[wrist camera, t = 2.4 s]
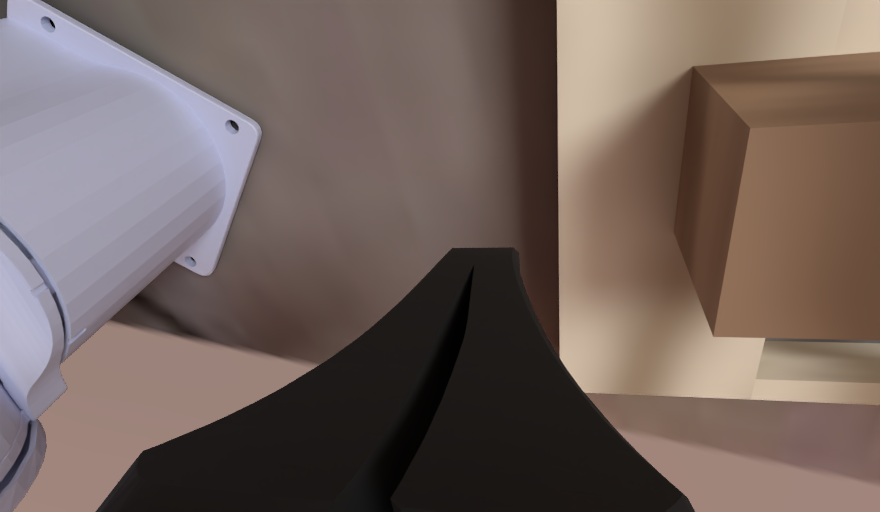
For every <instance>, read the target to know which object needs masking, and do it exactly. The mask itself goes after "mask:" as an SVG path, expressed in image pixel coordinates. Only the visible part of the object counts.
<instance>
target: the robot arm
mask: <svg viewBox="0 0 880 512" xmlns="http://www.w3.org/2000/svg"><path fill="white" fill-rule="evenodd" d="M49 18H50V19H51V20H52V21H53V23H54V24H55V28H53V27H52V25H51V23H50V19H49ZM231 120H233V121H235V122H236V123H237V125H238V127H239V130H235V129H234V128H233V127H232V125H231ZM261 136H262V132H261V128H260V126H259V125H258V123H257V122H255V121H254V120H253V119H251V118H249V117H247V116H246V115H244V114H242V113H240V112H239V111H237V110H235V109H233V108H231V107H230V106H228V105H226V104H224V103H223V102H221V101H219V100H217V99H215V98H214V97H212V96H210V95H208V94H207V93H205V92H203V91H201V90H199V89H198V88H196V87H194V86H192V85H190V84H189V83H187V82H185V81H183V80H182V79H180V78H178V77H176V76H174V75H173V74H171V73H169V72H167V71H166V70H164V69H162V68H160V67H158V66H157V65H155V64H153V63H151V62H150V61H148V60H146V59H144V58H142V57H141V56H139V55H137V54H135V53H134V52H132V51H130V50H128V49H126V48H125V47H123V46H121V45H119V44H117V43H116V42H114V41H112V40H110V39H109V38H107V37H105V36H103V35H101V34H100V33H98V32H96V31H94V30H93V29H91V28H89V27H87V26H85V25H84V24H82V23H80V22H78V21H77V20H75V19H73V18H71V17H69V16H68V15H66V14H64V13H62V12H61V11H59V10H57V9H55V8H53V7H52V6H50V5H48V4H46V3H45V2H43V1H41V0H8V3H7V18H3V19H0V512H13V511H14V509H15V508H16V507H17V506H18V504H19V503H20V502H21V500H22V499H23V498H24V497H25V495H26V493H27V492H28V490H29V488H30V487H31V485H32V483H33V482H34V480H35V479H36V477H37V475H38V473H39V470H40V468H41V466H42V463H43V461H44V457H45V452H46V435H45V431H44V429H43V427H42V425H41V423H40V422H39V420H38V419H37V418H38V417H39V416H40V415H41V414H42V413H43V412H44V411H46V409H48V408H49V407H50V406H51V405H52V404H53V402H55V401H56V400H57V399H58V398H59V397H60V396H61V395H62V394H63V393H64V392H65V391H66V390H67V385H66V383H65V382H64V380H63V378H62V375H61V372H60V364H61V363H62V362H63V361H64V360H66V358H68V357H69V356H70V355H71V354H72V353H73V352H74V351H76V350H77V349H78V348H79V347H80V346H81V345H82V344H83V343H84V342H85V341H87V340H88V339H89V338H90V337H91V336H92V335H93V334H94V333H95V332H96V331H97V330H99V329H100V328H101V327H102V326H103V325H104V324H105V323H106V322H107V321H109V320H110V319H111V318H112V317H113V316H114V315H115V314H116V313H117V312H118V311H120V310H121V309H122V308H123V307H124V306H125V305H126V304H127V303H128V302H129V301H131V300H132V299H133V298H134V297H135V296H136V295H137V294H138V293H139V292H140V291H142V290H143V289H144V288H145V287H146V286H147V285H148V284H149V283H150V282H151V281H153V280H154V279H155V278H156V277H157V276H158V275H159V274H160V273H161V272H162V271H164V270H165V269H166V268H167V267H168V266H169V265H170V264H171V263H172V262H173V261H174V262H176V263H178V264H180V265H182V266H184V267H186V268H188V269H189V270H191V271H193V272H195V273H197V274H199V275H202V276H208V275H210V274H211V273H212V272H213V271H214V270H215V269H216V266H217V263H218V260H219V257H220V255H221V252H222V249H223V246H224V243H225V240H226V237H227V234H228V232H229V229H230V226H231V223H232V220H233V217H234V214H235V212H236V209H237V206H238V203H239V200H240V197H241V194H242V191H243V189H244V186H245V183H246V180H247V177H248V174H249V171H250V169H251V166H252V163H253V160H254V157H255V154H256V151H257V148H258V146H259V143H260V140H261ZM190 257H192V258H193V259H194V260H195V261H193V260H192V259H191V258H190ZM96 512H695V511H694V509H693V507H692V505H691V503H690V501H689V500H688V498H687V497H686V496H685V495H684V494H683V493H682V492H681V491H679V490H678V489H677V488H676V487H675V486H674V485H673V484H671V483H670V482H669V481H668V480H667V479H666V478H665V477H663V476H662V475H661V474H660V473H659V472H658V471H657V470H656V469H655V468H654V467H653V466H652V465H651V464H649V463H648V462H647V461H646V460H645V459H644V458H643V457H642V456H641V455H640V454H639V453H638V452H637V451H636V450H635V449H634V448H633V447H632V446H631V445H630V444H629V443H628V442H627V441H626V440H625V439H624V438H623V437H622V435H621V434H620V433H619V432H618V431H617V430H616V429H615V428H614V427H613V426H612V425H611V424H610V422H609V421H608V420H607V419H606V418H605V417H604V415H603V414H602V413H601V412H600V411H599V409H598V408H597V407H596V406H595V405H594V404H593V402H592V401H591V400H590V399H589V398H588V397H587V395H586V394H585V393H584V392H583V390H582V389H581V388H580V386H579V385H578V384H577V382H576V381H575V380H574V378H573V377H572V376H571V374H570V373H569V371H568V370H567V368H566V367H565V365H564V364H563V362H562V361H561V359H560V358H559V356H558V355H557V353H556V352H555V350H554V348H553V347H552V345H551V343H550V341H549V340H548V338H547V336H546V334H545V332H544V330H543V329H542V327H541V325H540V323H539V321H538V319H537V317H536V315H535V312H534V310H533V308H532V305H531V303H530V301H529V298H528V296H527V293H526V291H525V288H524V285H523V281H522V278H521V274H520V263H519V252H517V251H516V250H515V249H514V248H452V249H451V250H450V251H449V252H448V253H447V254H446V255H445V256H444V257H443V258H442V259H441V260H440V261H439V262H438V263H437V264H436V265H435V267H434V268H433V269H432V270H431V271H430V272H429V273H428V274H427V275H426V276H425V277H424V278H423V279H422V280H421V281H420V282H419V283H418V284H417V285H416V286H415V287H414V288H413V289H412V290H411V291H410V292H409V293H408V294H407V295H406V296H405V297H404V298H403V299H402V300H401V301H400V302H399V303H398V304H397V305H396V306H395V307H394V308H393V309H392V310H391V311H389V312H388V313H387V314H386V315H385V316H384V317H383V318H382V319H380V320H379V321H378V322H377V323H376V324H375V325H374V326H373V327H371V328H370V329H369V330H368V331H366V332H365V333H364V334H363V335H361V336H360V337H359V338H357V339H356V340H355V341H354V342H352V343H351V344H349V345H348V346H347V347H345V348H344V349H343V350H341V351H340V352H338V353H337V354H336V355H334V356H333V357H331V358H330V359H328V360H327V361H325V362H324V363H322V364H321V365H319V366H317V367H316V368H314V369H312V370H311V371H309V372H308V373H306V374H304V375H303V376H301V377H299V378H298V379H296V380H295V381H293V382H291V383H289V384H288V385H286V386H285V387H283V388H281V389H279V390H277V391H276V392H274V393H272V394H270V395H268V396H266V397H264V398H262V399H260V400H259V401H257V402H255V403H253V404H251V405H249V406H247V407H245V408H243V409H241V410H238V411H236V412H235V413H232V414H230V415H228V416H226V417H224V418H222V419H220V420H217V421H215V422H213V423H211V424H208V425H206V426H204V427H201V428H199V429H197V430H194V431H192V432H189V433H187V434H184V435H182V436H179V437H177V438H175V439H172V440H170V441H167V442H165V443H163V444H160V445H158V446H155V447H152V448H150V449H147V450H145V451H143V452H142V453H141V454H140V455H139V457H138V458H137V459H136V460H135V462H134V463H133V464H132V465H131V467H130V468H129V469H128V471H127V472H126V473H125V474H124V476H123V477H122V478H121V480H120V481H119V482H118V484H117V485H116V486H115V487H114V489H113V490H112V491H111V493H110V494H109V495H108V497H107V498H106V499H105V500H104V502H103V503H102V504H101V506H100V507H99V508H98V510H97V511H96Z"/></svg>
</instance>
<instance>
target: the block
mask: <svg viewBox="0 0 880 512" xmlns="http://www.w3.org/2000/svg"><path fill="white" fill-rule="evenodd" d="M674 235H675V237H676V240H677V243H678V245H679V248H680V251H681V253H682V256H683V258H684V261H685V264H686V266H687V269H688V272H689V274H690V277H691V280H692V282H693V285H694V287H695V290H696V293H697V295H698V298H699V301H700V303H701V306H702V309H703V311H704V314H705V317H706V319H707V322H708V324H709V327H710V330H711V332H712V335H713V337H741V338H791V339H840V340H880V52H869V53H856V54H843V55H830V56H817V57H804V58H791V59H778V60H765V61H752V62H740V63H727V64H714V65H701V66H693V69H692V78H691V87H690V95H689V104H688V113H687V121H686V130H685V139H684V147H683V156H682V165H681V173H680V182H679V191H678V199H677V208H676V217H675V225H674Z"/></svg>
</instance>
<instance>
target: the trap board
mask: <svg viewBox="0 0 880 512" xmlns="http://www.w3.org/2000/svg"><path fill="white" fill-rule="evenodd" d="M869 52H880V0H557V107H558V231H559V352H560V359H561V361H562V362H563V364H564V365H565V367H566V368H567V370H568V371H569V373H570V374H571V376H572V377H573V378H574V380H575V381H576V382H577V384H578V385H579V386H580V388H581V389H582V390H583V392H585V393H609V394H633V395H656V396H680V397H704V398H728V399H752V400H775V401H799V402H823V403H847V404H871V405H880V340H840V339H791V338H741V337H713V335H712V332H711V330H710V327H709V324H708V322H707V319H706V317H705V314H704V311H703V309H702V306H701V303H700V301H699V298H698V295H697V293H696V290H695V287H694V285H693V282H692V280H691V277H690V274H689V272H688V269H687V266H686V264H685V261H684V258H683V256H682V253H681V251H680V248H679V245H678V243H677V240H676V237H675V235H674V225H675V217H676V208H677V199H678V191H679V182H680V173H681V165H682V156H683V147H684V139H685V130H686V121H687V113H688V104H689V95H690V87H691V78H692V69H693V66H701V65H714V64H727V63H740V62H752V61H765V60H778V59H791V58H804V57H817V56H830V55H843V54H856V53H869Z"/></svg>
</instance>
